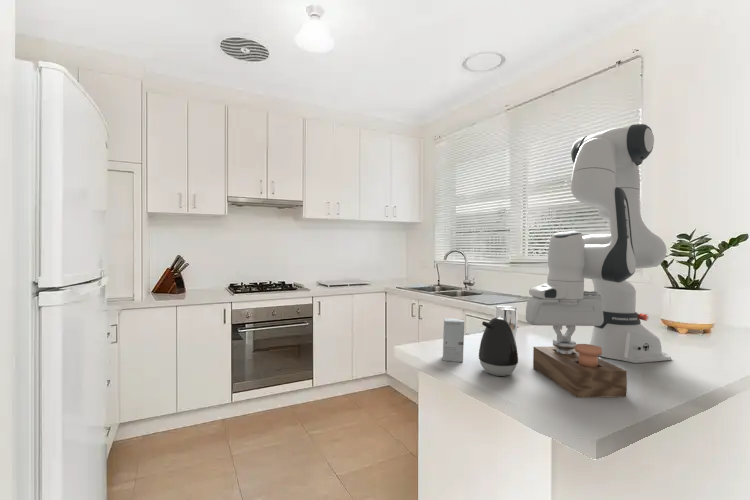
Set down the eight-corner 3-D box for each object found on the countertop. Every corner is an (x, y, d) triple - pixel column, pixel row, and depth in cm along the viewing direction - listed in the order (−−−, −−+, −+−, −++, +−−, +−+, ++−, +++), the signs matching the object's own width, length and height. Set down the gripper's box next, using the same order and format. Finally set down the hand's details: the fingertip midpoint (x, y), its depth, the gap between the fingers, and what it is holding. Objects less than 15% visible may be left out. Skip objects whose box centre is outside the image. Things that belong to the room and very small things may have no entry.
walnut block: (573, 367, 103) (574, 346, 103) (626, 396, 83) (626, 371, 83) (533, 367, 102) (533, 346, 102) (576, 397, 83) (577, 371, 82)
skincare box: (442, 361, 107) (443, 320, 107) (442, 356, 112) (443, 317, 112) (464, 362, 107) (464, 321, 106) (462, 357, 111) (463, 318, 111)
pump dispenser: (470, 368, 101) (471, 315, 101) (500, 364, 105) (500, 312, 104) (494, 381, 91) (495, 322, 91) (526, 376, 95) (527, 319, 95)
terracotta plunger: (591, 363, 91) (591, 343, 91) (607, 371, 85) (607, 350, 85) (570, 363, 90) (570, 343, 90) (584, 371, 85) (584, 350, 85)
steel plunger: (567, 356, 101) (568, 338, 101) (580, 363, 95) (580, 344, 95) (548, 356, 100) (548, 339, 100) (559, 363, 95) (560, 344, 95)
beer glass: (518, 359, 110) (519, 310, 110) (495, 357, 112) (496, 309, 111) (514, 352, 117) (515, 306, 117) (492, 350, 118) (493, 305, 118)
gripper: (594, 290, 101) (592, 338, 101) (523, 289, 100) (522, 338, 100) (610, 292, 95) (608, 345, 95) (534, 291, 94) (533, 344, 94)
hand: (563, 341), depth 98 cm, fingers closed
